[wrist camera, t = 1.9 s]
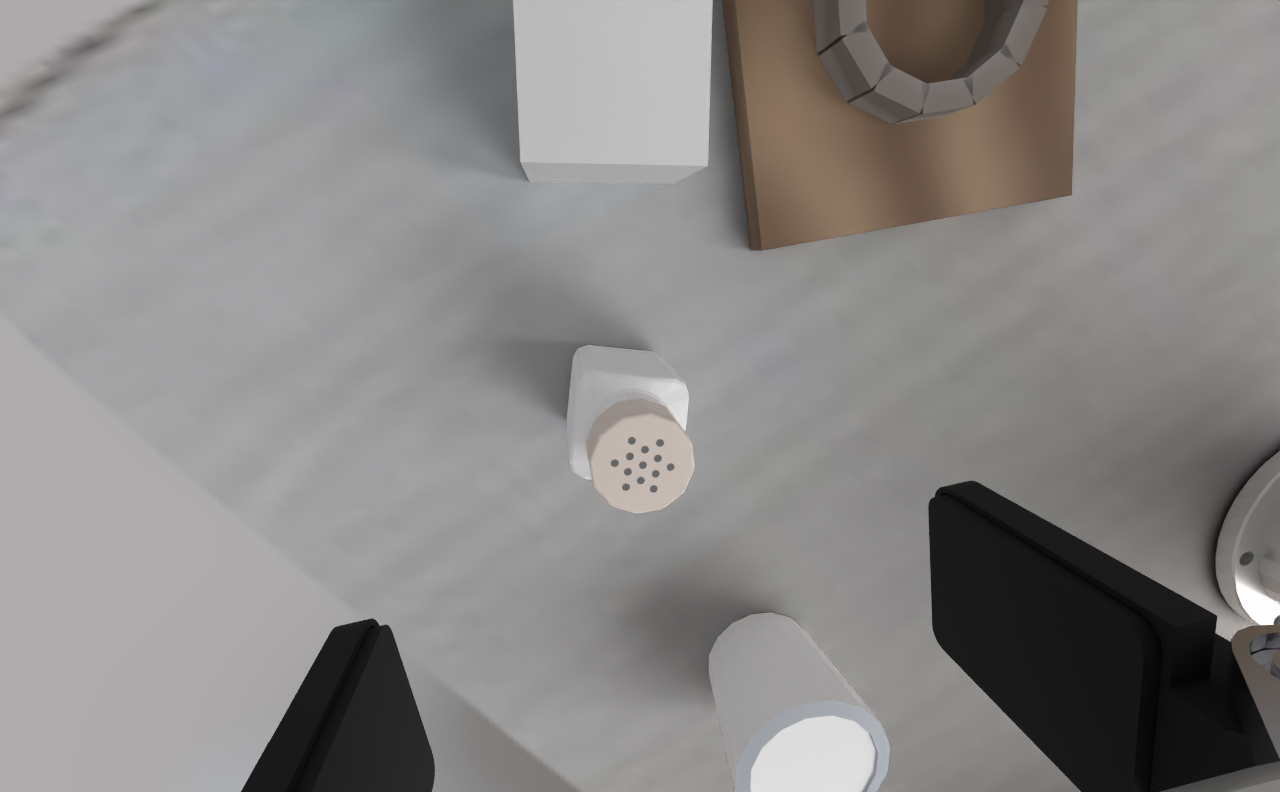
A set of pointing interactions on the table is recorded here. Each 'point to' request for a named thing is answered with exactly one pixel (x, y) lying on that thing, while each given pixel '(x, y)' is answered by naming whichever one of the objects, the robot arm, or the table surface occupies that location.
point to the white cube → (613, 89)
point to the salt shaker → (629, 427)
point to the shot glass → (791, 713)
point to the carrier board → (890, 163)
